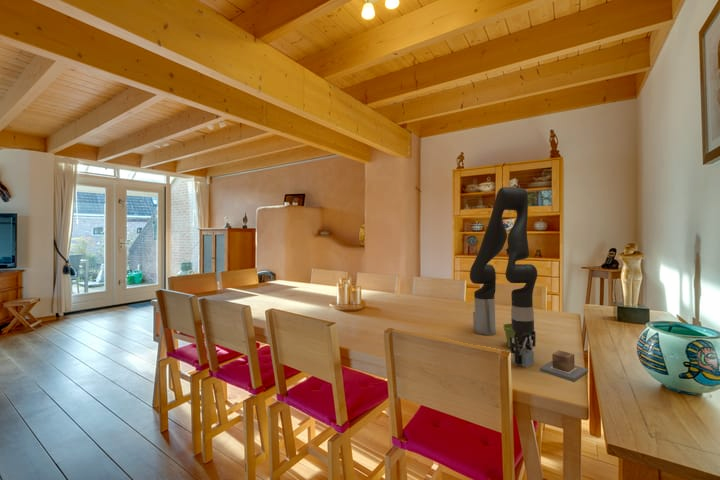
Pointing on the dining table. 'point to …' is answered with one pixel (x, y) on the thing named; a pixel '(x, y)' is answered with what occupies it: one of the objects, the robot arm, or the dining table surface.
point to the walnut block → (563, 361)
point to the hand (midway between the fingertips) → (523, 361)
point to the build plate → (571, 375)
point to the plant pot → (509, 332)
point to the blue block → (526, 358)
